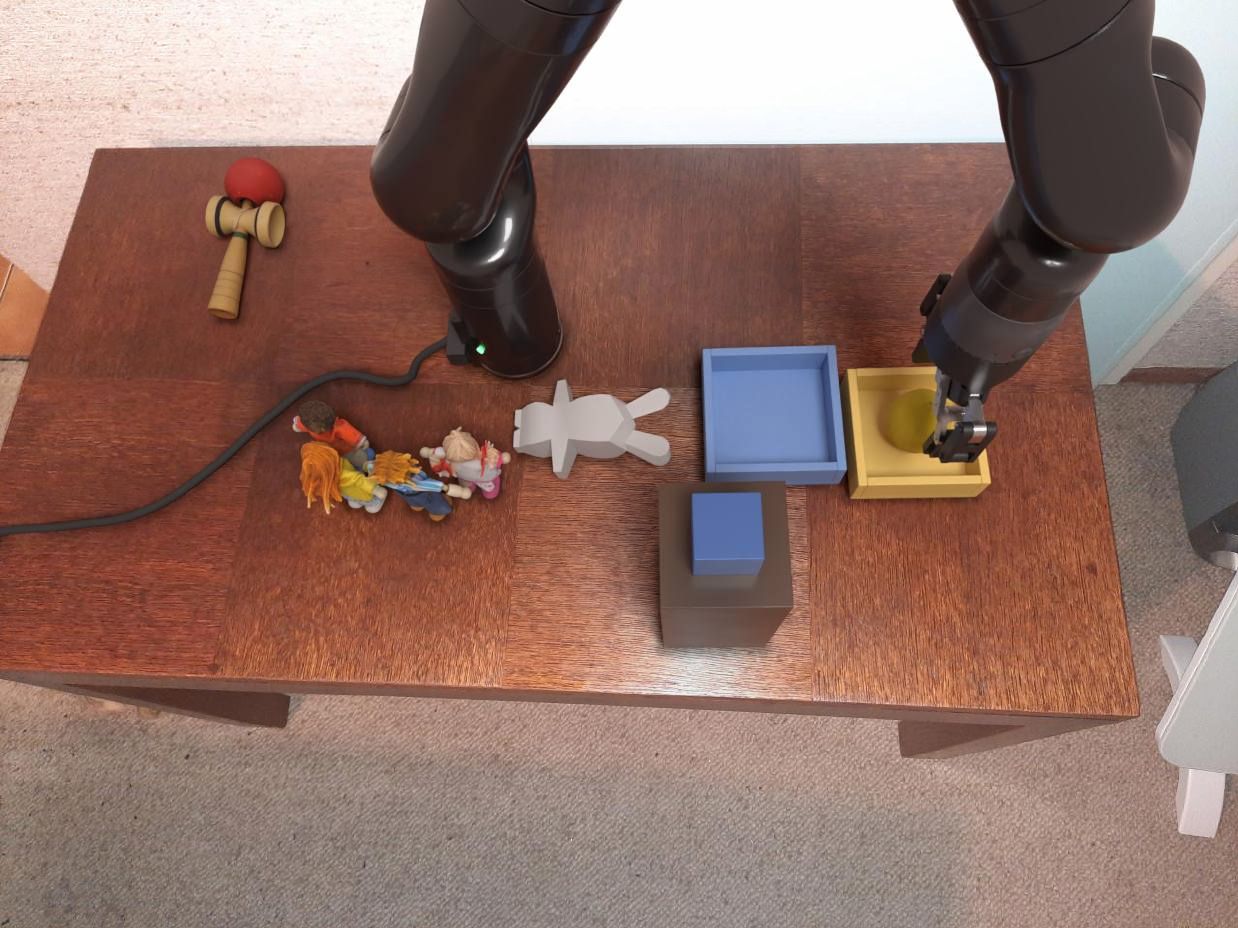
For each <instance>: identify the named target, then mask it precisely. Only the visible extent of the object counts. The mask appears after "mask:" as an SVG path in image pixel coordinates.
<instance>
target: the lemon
mask: <svg viewBox="0 0 1238 928" xmlns="http://www.w3.org/2000/svg"><path fill="white" fill-rule="evenodd" d="M935 393H936V391H934V390H930V389H923V388H920V389H914V390H911V391H909V392H907V393H905V394H903V395H901V396H900V397H899V398H898V399H897V400H896V401H895V402H894V403H893V404H892V406H891V407H890V409H889V411H888V415H887V418H886V430H887V434H888V436H889V438H890V440H891V441H892V443H893V444H894V445H895V446H896V447H898V448H899V449H901V450H903V451H905V452H908V453H915V454H916V453H923V447H922V445H923V444H924V443H925V441H926V440H927V439H928V438H929V436H930V435H931V434H932V432H933V431H935V427H936V422H937V419H936V417H935V415H934V413H933V411H932V409H933V404H934V398H935ZM945 406H950V405H949V403H948V401H947V400H946V405H945ZM951 424H952V422H949V423H948V425H947V429H950V428H951Z"/></svg>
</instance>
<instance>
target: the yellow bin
mask: <svg viewBox="0 0 1238 928" xmlns="http://www.w3.org/2000/svg"><path fill="white" fill-rule="evenodd" d="M936 370H937V367H936V366H912V367H911V366H907V367H906V366H904V367H868V368H867V367H866V368H863V367H861V368H847V370H846V371H845V373H844V377H843V379H842V381H841V383H840V384H839V390H840V401H841V412H842V422H843V433H844V444H845V454H846V465H847V470H846V472H847V480H848V481H847V482H848V490H849V492H848V493H849V499H850V500H863V499H864V500H867V499H868V500H870V499H871V500H872V499H874V500H875V499H929V498H930V499H931V498H933V499H934V498H935V499H936V498H937V499H938V498H977V497H978V495H980V494H981V493H982V492H983V491H984V490H986V488H988V486H990V485H991V484H992V480H991V473H990V467H989V460H988V454H987V447H986V448H985V450H984V451H983V452H982V453H981V454H980V455H979V457H978V458H977V459H976V460H975V461H974V463H966V462H956V463H940V460H939V458H929V455H927V454H923V453H916V454H915V453H908V452H905V451H903V450H901V449H899V448H898V447H896V446H895V445H894V444H893V443H892V441H891V440H890V438H889V436H888V434H887V430H886V418H887V415H888V411H889V409H890V407H891V406H892V404H893V403H894V402H895V401H896V400H897V399H898V398H899V397H900V396H901V395H903V394H905V393H907V392H909V391H911V390H914V389H920V388H923V389H930V390H934V391H936V387H937V383H936V382H935V375H936ZM947 401H948V403H949V405H950V406H958V405H957V404H955V403H954V402H952V401H951V400H949V399H948V398H947ZM955 422H961V421H952V424H951V428H950V429H955V428H954V423H955Z"/></svg>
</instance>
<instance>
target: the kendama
mask: <svg viewBox="0 0 1238 928" xmlns="http://www.w3.org/2000/svg"><path fill="white" fill-rule="evenodd" d="M223 179H224V180H223V182H224V183H223V186H224V190H225V191H224V192H225V195H219V194H214V195H213V196H211V198H210V199H209V201H208V203H207V205H206V208H205V219H204V220H205V226H206V228H207V230H208V233H209V234H210V236H213V237H216V238H221V239H222V238H225V237H227V236H228V235H230V234H232V233H233V235H232V236H231V239H230V241H229V243H228V247H227V249H226V251H225V254H224V256H223V260H222V262H221V264H220V265H221V266H220V268H219V272H218V274H217V279H216V281H215V284H214V288H213V290H212V294H211V297H210V299H209V302H208V304H207V307H206V309H207V312H209V313H210V314H211V315H213V316H215V317H218V318H222V319H225V320H227V319H228V320H234V319H237V318H238V316H239V309H240V302H241V294H242V287H243V282H244V276H245V271H246V264H247V256H248V255H247V254H248V242H249V241H248V238H249V235H251V236H253V237H254V239H256V240H257V241H258V243H260V246H262V247H264V248H272V249H273V248H274V249H275V248H277V247H278V246H279V245H280V244H281V242H282V241H283V237H284V234H285V228H286V227H285V226H286V217H285V213H284V210H283V207H282V205H281V202H282V200H283V197H284V193H285V187H284V182H283V178H282V175H281V174H280V173H279V171H278V169H276V167H274V166H273V164H271V163H270V162H268V161H267V160H264V159H261V158H259V157H255V156H253V157H252V156H251V157H250V156H249V157H243V158H240V159H237V160H236V161H233V163H232V164H231V165H230V166H229V167H228V169H227V170H226V172H225V175H224V178H223Z"/></svg>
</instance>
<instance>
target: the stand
mask: <svg viewBox="0 0 1238 928" xmlns="http://www.w3.org/2000/svg"><path fill="white" fill-rule="evenodd" d="M786 486H787V485H786V484H785V481H744V482H705V481H697V482H696V481H695V482H658V484H657V488H658V489H657V490H658V491H657V492H658V497H657V498H658V555H659V557H658V560H659V561H658V562H659V563H658V564H659V565H658V566H659V568H658V569H659V612H660V621H661V632H662V644H663V649H703V648H705V649H709V648H713V649H715V648H717V649H719V648H720V649H721V648H724V649H725V648H730V649H731V648H737V649H738V648H765V647H766V646H767V645H768V643H770V641H771V639H772V638H773V636H774V635H775V634H776V633H777V631H778V629H779V628H780V627H781V625H783V623H784V621H785V619H786V618H787V617H788V616H789V614H790V613H791V612H792V610H793V609H794V607H795V603H794V588H793V575H792V560H791V547H790V546H791V545H790V534H789V533H790V530H789V529H790V527H789V517H788V501H787V499H788V498H787V487H786ZM748 492H760V493H761V502H762V520H763V537H764V555H765V559H764V562H763V564H762V566H761V569H760V571H759V573H758V574H757V575H693V574H692V542H691V500H692V494H693V493H748Z"/></svg>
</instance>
